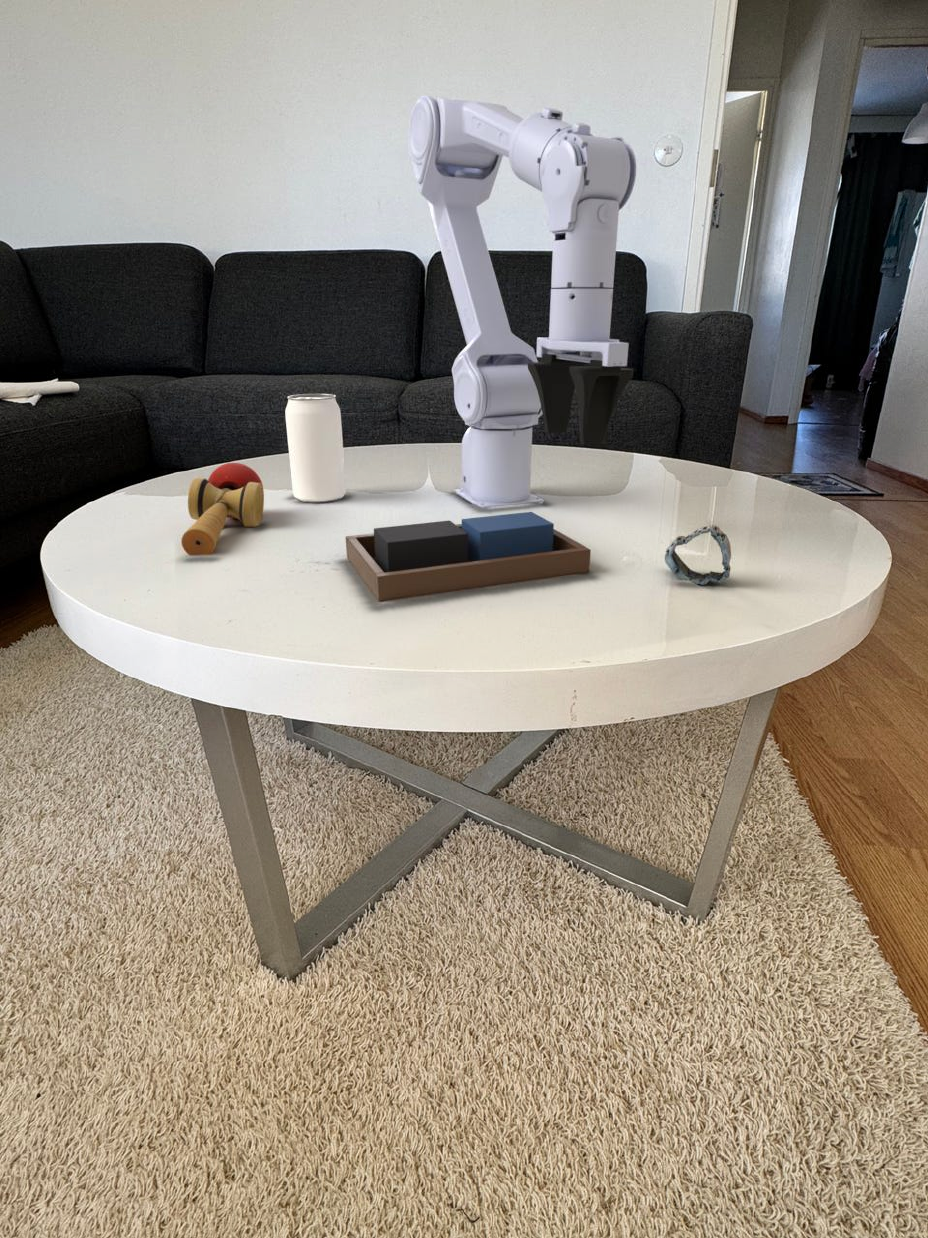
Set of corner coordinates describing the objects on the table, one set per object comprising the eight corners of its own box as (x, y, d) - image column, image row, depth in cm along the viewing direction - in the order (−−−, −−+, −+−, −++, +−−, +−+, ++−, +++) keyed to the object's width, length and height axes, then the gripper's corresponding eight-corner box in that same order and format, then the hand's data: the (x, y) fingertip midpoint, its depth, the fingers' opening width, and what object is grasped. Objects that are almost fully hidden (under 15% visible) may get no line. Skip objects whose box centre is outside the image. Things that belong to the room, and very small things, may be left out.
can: (335, 504, 86) (327, 399, 81) (284, 501, 87) (273, 398, 82) (353, 492, 92) (347, 393, 87) (306, 489, 93) (297, 392, 88)
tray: (347, 562, 66) (345, 536, 65) (530, 540, 72) (531, 516, 71) (379, 607, 56) (377, 576, 55) (589, 577, 62) (591, 549, 61)
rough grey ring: (696, 590, 63) (661, 546, 62) (748, 559, 60) (711, 513, 59) (690, 605, 60) (653, 560, 60) (744, 574, 57) (706, 526, 57)
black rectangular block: (375, 566, 63) (373, 528, 62) (450, 557, 66) (449, 520, 64) (389, 583, 59) (387, 542, 58) (468, 572, 62) (468, 533, 60)
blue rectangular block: (461, 556, 66) (461, 518, 65) (530, 547, 68) (531, 511, 67) (479, 571, 62) (479, 532, 61) (552, 561, 64) (554, 523, 63)
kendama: (253, 570, 68) (283, 498, 83) (230, 508, 65) (265, 445, 80) (174, 585, 68) (218, 511, 84) (146, 524, 65) (198, 459, 80)
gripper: (664, 287, 62) (648, 447, 67) (582, 290, 74) (574, 425, 80) (591, 286, 60) (581, 452, 65) (519, 290, 72) (516, 429, 78)
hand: (573, 438), depth 72 cm, fingers open, 7 cm apart
